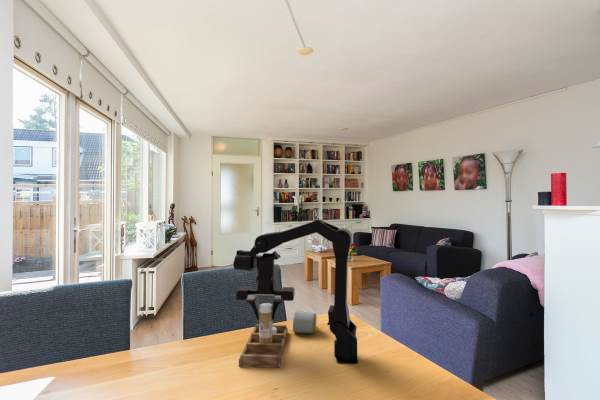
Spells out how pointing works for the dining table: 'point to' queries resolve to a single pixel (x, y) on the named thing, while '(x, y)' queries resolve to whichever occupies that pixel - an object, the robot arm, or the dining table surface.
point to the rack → (264, 349)
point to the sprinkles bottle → (265, 323)
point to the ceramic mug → (304, 322)
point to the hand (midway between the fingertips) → (265, 319)
